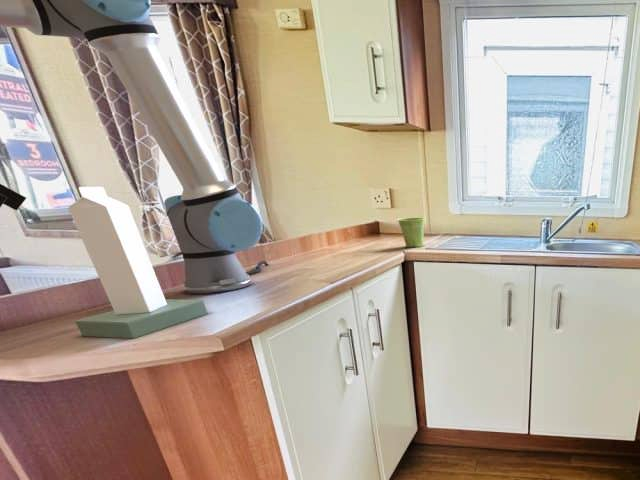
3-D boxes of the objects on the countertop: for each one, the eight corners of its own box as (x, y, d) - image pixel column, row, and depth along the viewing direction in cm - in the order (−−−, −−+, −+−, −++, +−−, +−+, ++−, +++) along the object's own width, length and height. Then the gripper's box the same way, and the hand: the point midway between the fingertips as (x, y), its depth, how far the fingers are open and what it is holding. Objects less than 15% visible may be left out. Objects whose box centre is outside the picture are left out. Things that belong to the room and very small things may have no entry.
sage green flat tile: (162, 312, 93) (157, 299, 91) (207, 313, 90) (202, 299, 89) (82, 336, 79) (74, 320, 77) (133, 338, 76) (126, 322, 75)
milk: (167, 305, 86) (122, 186, 77) (149, 312, 81) (98, 186, 71) (135, 307, 85) (85, 187, 76) (114, 315, 80) (58, 187, 71)
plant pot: (395, 248, 179) (391, 220, 174) (410, 244, 189) (406, 217, 184) (420, 248, 176) (416, 219, 171) (433, 244, 186) (430, 217, 181)
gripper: (-183, 120, 63) (15, 220, 77) (-316, 89, 45) (-26, 226, 60) (-150, 81, 63) (40, 187, 78) (-268, 34, 46) (8, 183, 60)
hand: (12, 204), depth 69 cm, fingers open, 13 cm apart
